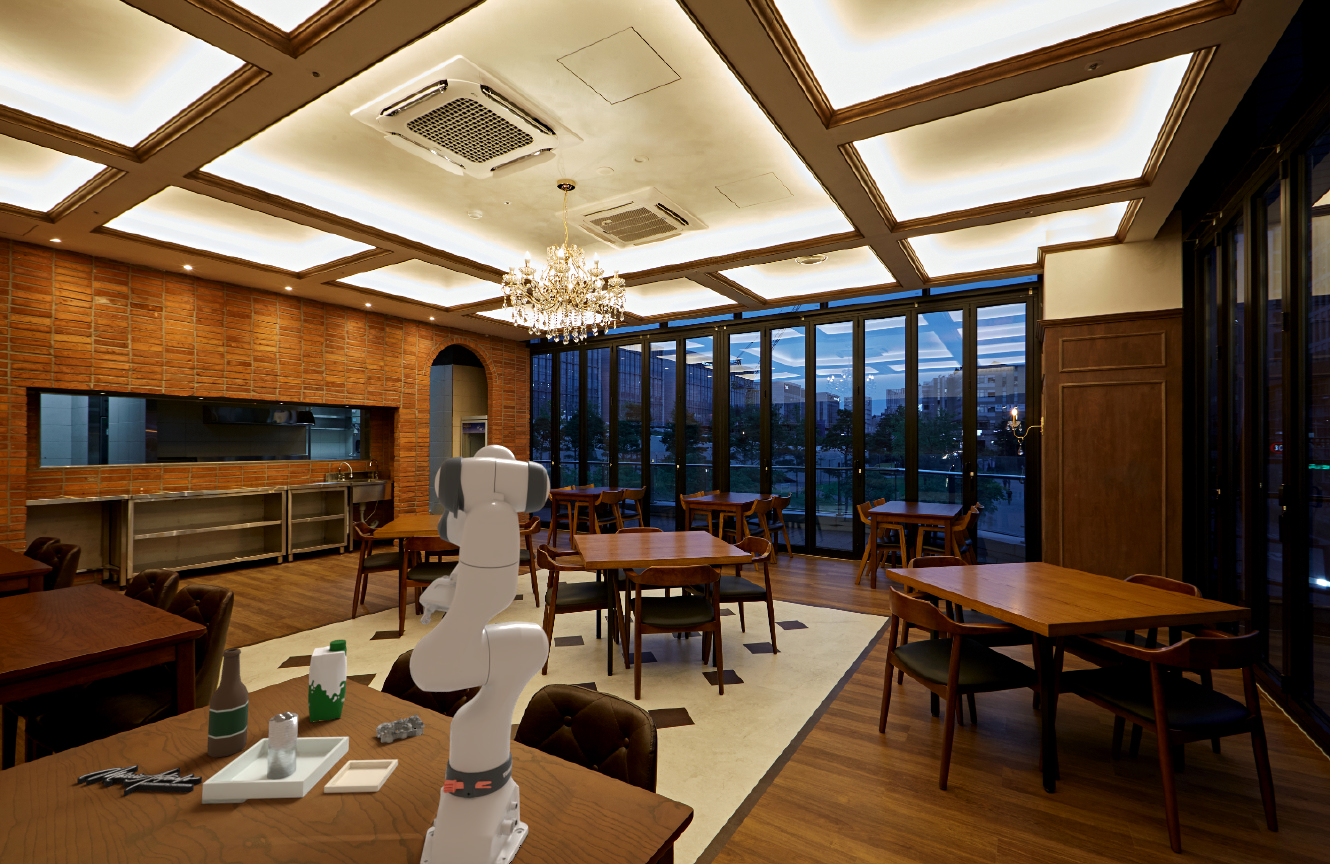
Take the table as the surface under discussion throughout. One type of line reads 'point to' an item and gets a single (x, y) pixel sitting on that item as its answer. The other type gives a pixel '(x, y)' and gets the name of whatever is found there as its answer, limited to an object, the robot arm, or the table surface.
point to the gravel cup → (282, 745)
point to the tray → (361, 776)
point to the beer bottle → (228, 710)
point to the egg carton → (400, 729)
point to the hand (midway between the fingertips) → (436, 625)
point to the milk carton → (327, 681)
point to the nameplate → (142, 780)
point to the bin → (252, 783)
